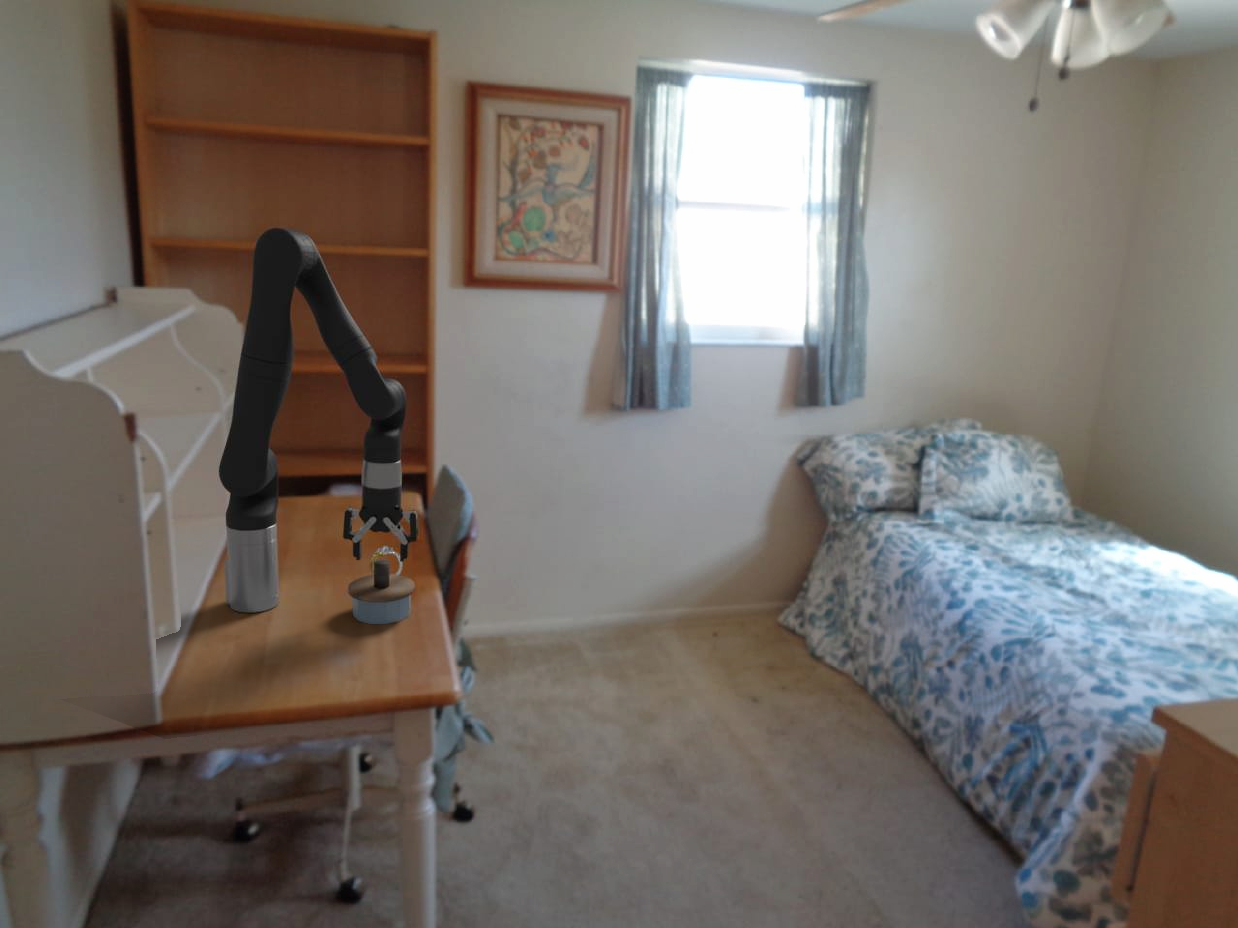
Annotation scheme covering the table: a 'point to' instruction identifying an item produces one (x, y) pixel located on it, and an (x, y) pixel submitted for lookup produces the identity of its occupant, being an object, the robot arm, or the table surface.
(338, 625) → the table surface
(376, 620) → the bowl
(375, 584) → the lid
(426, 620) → the table surface
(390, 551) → the ring
